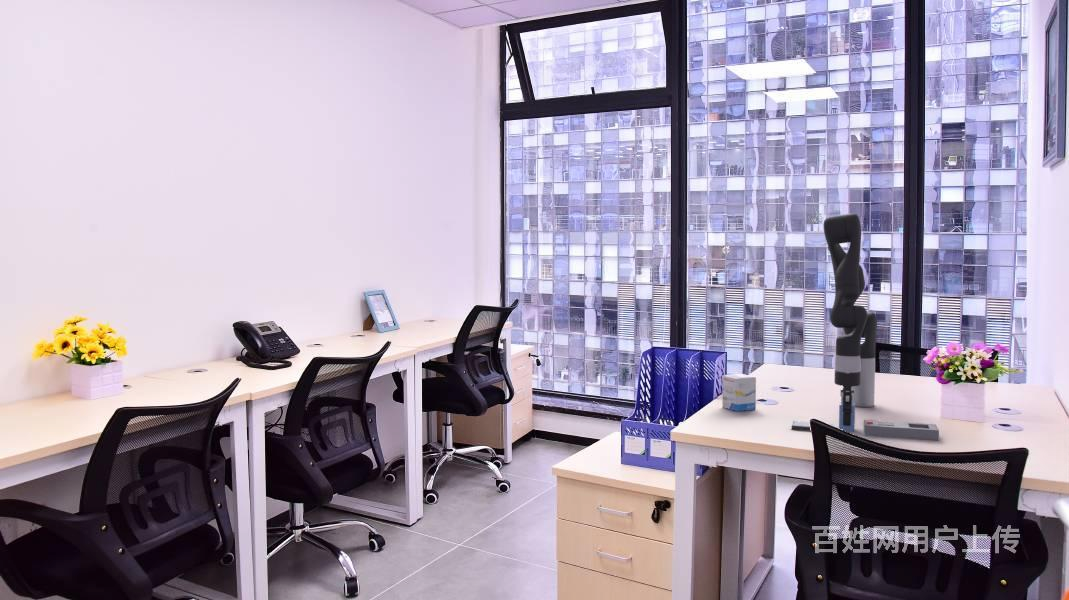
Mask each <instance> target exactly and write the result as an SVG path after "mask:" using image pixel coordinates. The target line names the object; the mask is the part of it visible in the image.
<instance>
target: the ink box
mask: <svg viewBox="0 0 1069 600" xmlns="http://www.w3.org/2000/svg"><path fill="white" fill-rule="evenodd" d="M721 379H722V382H721V383H722V387H721V388H722V391H721V393H722V396H721V397H722V399H721V400H722V401H721V402H722V403H721V404H722V408H723V407H724V409H727V408H728V410H730V409H731V410H730V411H733V410H735V412H737V411H738V412H745V411H744V410H746V411H754V409H755V410H757V409H756V408H757V406H756V404H757V403H756V401H757V399H756V398H757V394H756V393H757V391H756V390H757V389H756V388H757V377H755V376H753V375H752V376H751V375H748V374H744V373H733V374H732V373H730V374H723V375H722V378H721Z"/></svg>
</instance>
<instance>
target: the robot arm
mask: <svg viewBox="0 0 1069 600" xmlns="http://www.w3.org/2000/svg"><path fill="white" fill-rule="evenodd" d="M823 232H824V233H823V234H824V237H825V241H826V244H827V247H828V250H829V255H830V258H831V259H830V260H831V264H832V270H833V276H834V277H833V278H834V289H835V290H834V291H835V293H834V294H835V295H834V301H833V306H832V309H831V310H830V311H831V312H830V314H829V315H830V317H829V319H830V323H831V325H832V326H833V327H834V328H838V329H842V330H843V333H844V334H843V335H839V336H838V337H836V339H835V358H834V359H835V360H834V384H835V385H837V386H842V389H840V393H839V394H840V397H841V398H840V402H841V405H842V406H843V410H842V412H843V425H844V426H850V425H851V413H852V411H851V410H852V406H853V403H855V407H856V408H857V407H859V408H860V407H861V408H870V407H871V408H872V407H874V406H875V394H876V393H875V388H876V387H875V385H876V384H875V383H876V382H875V381H876V348H877V347H876V346H877V332H878V318H877V315H876V314H875V312H872V311H871V312H869V311H867V308H866V307H865V306H863V305H861V304H860V305H855V303H856V302H857V301H858V299H859V298H860V297H861V295H862V294H863V292H864V290H865V287H866V280H865V274H864V270H863V268H862V267H863V266H861V264H860V258H861V257H860V256H861V246H862V245H861V244H862V224H861V220H860V217H859V215H858V214H857V213H846V214H839V215H831V216H827V217H826V218H825V219H824V220H823ZM846 243H847V244H848V243H849V247H848V251H847V252H846V251H845V250H844V249H843V247H842V246H841V244H846ZM862 339H864V341H863V342H862V343H861V341H862ZM845 406H847V407H850V409H845Z"/></svg>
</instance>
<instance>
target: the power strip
mask: <svg viewBox="0 0 1069 600" xmlns="http://www.w3.org/2000/svg"><path fill="white" fill-rule="evenodd" d="M863 434H864V436H870V437H872V436H873V437H886V438H887V437H888V438H900V439H914V440H926V441H927V440H928V441H929V440H930V441H939V440H940V438H939V437H940V430H939V428H938V426H937V424H935V423H934V424H933V423H922V422H907V421H905V422H904V421H893V420H892V421H890V420H876V419H874V420H873V419H863Z"/></svg>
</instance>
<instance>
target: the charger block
mask: <svg viewBox="0 0 1069 600" xmlns="http://www.w3.org/2000/svg"><path fill="white" fill-rule="evenodd" d="M838 405H839V407H838V408H839V411H838V413H839V414H838V429H839V428H840V429H843V430H846V431H845V432H855V423H856V422H855V419H856V418H855V417H856V416H855V415H856V412H855V411H856V408H855V407H856V406H855V403H853V406H852V410H851V411H852V413H851V425H850V426H844V425H843V412H842V410H843V406H842V405H841V401H840V402H839V403H838ZM845 409H850V407H847V406H845Z"/></svg>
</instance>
